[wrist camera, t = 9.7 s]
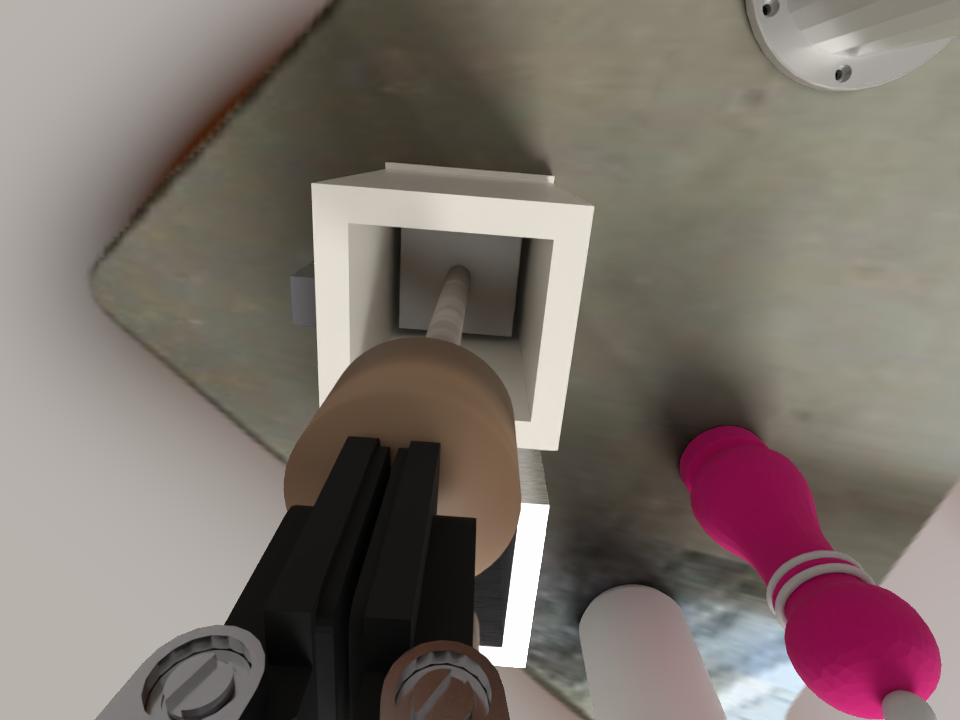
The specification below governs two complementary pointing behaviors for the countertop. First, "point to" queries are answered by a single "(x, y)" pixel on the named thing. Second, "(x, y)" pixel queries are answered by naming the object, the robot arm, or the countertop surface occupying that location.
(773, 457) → the pepper mill
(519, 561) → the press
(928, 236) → the countertop surface
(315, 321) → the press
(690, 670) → the alcohol
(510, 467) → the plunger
